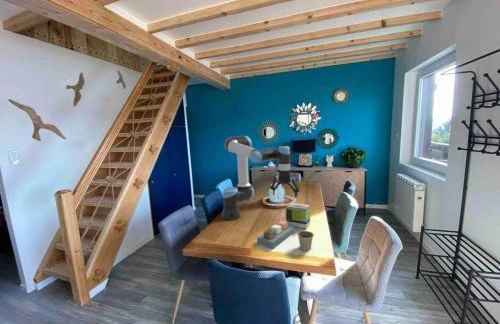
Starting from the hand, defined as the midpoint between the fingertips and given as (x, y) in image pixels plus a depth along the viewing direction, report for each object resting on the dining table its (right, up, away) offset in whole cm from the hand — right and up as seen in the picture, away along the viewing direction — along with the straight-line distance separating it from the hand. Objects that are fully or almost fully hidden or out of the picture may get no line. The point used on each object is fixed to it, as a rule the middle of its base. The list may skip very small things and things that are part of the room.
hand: (285, 200), depth 159 cm
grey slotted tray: (-6, -23, -5) cm, 25 cm away
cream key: (-6, -19, -6) cm, 21 cm away
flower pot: (+9, -25, -19) cm, 33 cm away
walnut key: (-12, -21, -12) cm, 27 cm away
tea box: (+12, -20, +13) cm, 27 cm away
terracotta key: (-1, -18, 0) cm, 18 cm away
